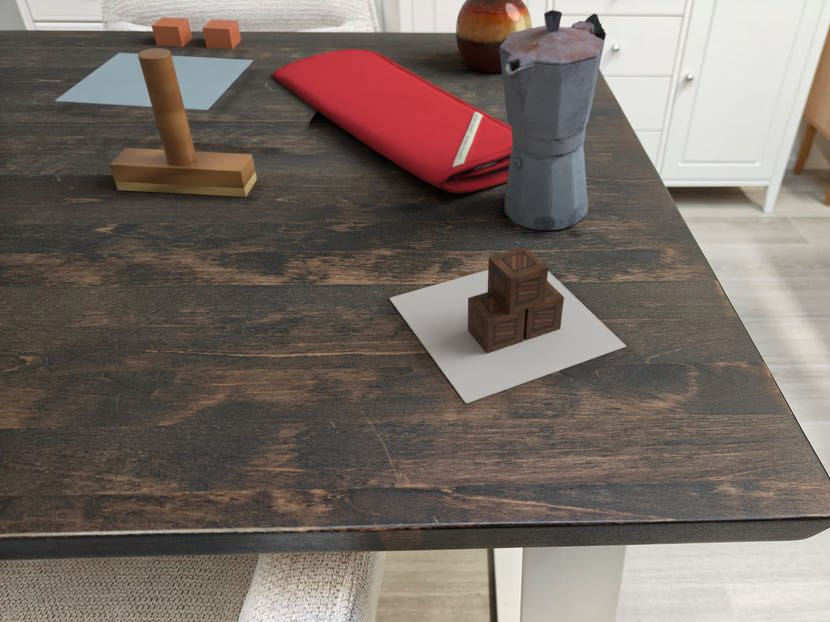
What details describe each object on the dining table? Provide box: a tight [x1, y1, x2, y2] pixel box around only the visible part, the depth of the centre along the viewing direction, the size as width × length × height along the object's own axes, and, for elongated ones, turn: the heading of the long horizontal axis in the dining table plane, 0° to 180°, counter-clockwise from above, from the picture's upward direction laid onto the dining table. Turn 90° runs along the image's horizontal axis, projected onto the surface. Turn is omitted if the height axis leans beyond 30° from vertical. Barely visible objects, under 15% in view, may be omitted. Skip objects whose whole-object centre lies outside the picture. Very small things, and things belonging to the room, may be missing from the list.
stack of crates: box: [388, 246, 628, 404], centre depth 62 cm, size 15×15×7 cm
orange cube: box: [151, 17, 193, 48], centre depth 111 cm, size 4×4×4 cm
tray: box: [54, 52, 254, 111], centre depth 101 cm, size 20×18×1 cm
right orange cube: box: [201, 19, 242, 50], centre depth 111 cm, size 4×4×4 cm
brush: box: [109, 47, 258, 198], centre depth 76 cm, size 14×4×14 cm, turn 86°
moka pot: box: [500, 9, 607, 231], centre depth 72 cm, size 10×15×20 cm, turn 145°
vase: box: [455, 0, 533, 74], centre depth 106 cm, size 11×11×15 cm
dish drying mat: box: [271, 48, 513, 194], centre depth 93 cm, size 16×41×4 cm, turn 36°
